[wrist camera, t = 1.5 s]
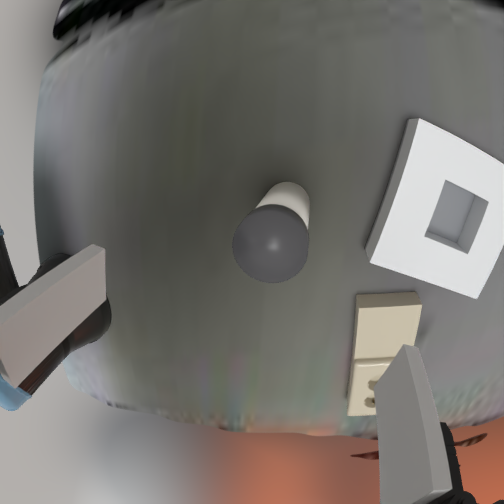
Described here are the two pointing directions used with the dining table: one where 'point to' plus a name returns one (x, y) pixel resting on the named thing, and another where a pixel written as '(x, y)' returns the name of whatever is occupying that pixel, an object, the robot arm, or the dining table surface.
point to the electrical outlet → (378, 343)
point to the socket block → (440, 211)
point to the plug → (274, 235)
